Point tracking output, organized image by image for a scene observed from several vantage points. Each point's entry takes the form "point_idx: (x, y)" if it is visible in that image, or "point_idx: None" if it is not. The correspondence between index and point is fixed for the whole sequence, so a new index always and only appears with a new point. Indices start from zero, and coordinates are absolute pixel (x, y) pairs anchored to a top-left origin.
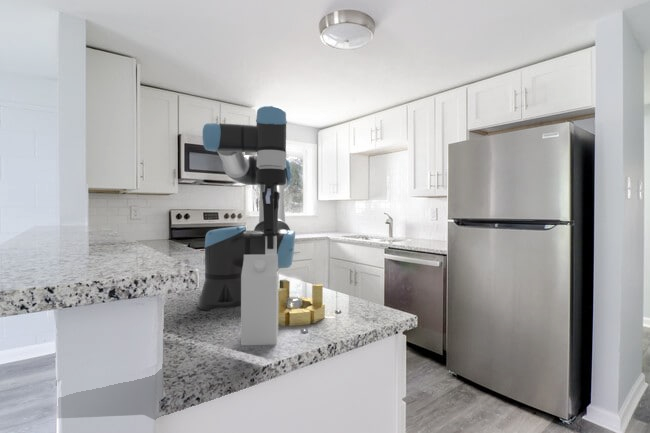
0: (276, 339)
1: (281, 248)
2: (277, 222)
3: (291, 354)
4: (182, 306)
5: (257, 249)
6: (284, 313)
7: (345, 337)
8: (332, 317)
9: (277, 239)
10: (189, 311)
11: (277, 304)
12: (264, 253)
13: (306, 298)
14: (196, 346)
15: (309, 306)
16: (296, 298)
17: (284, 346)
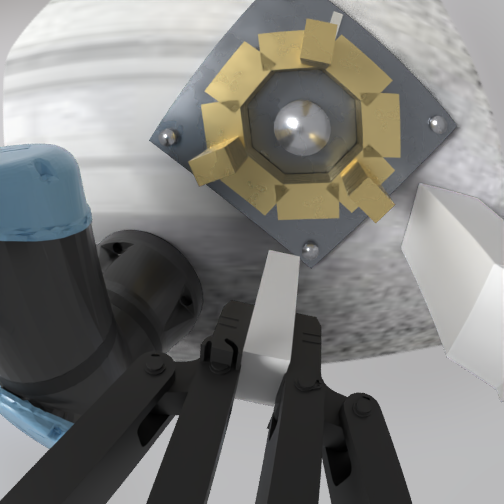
0: (484, 204)
1: (53, 223)
2: (101, 410)
3: (500, 174)
4: None
5: (87, 324)
6: (393, 171)
7: (451, 34)
8: (339, 17)
9: (16, 266)
10: (194, 345)
11: (491, 225)
12: (87, 287)
13: (231, 76)
14: (404, 323)
15: (340, 81)
16: (294, 119)
17: (466, 178)
